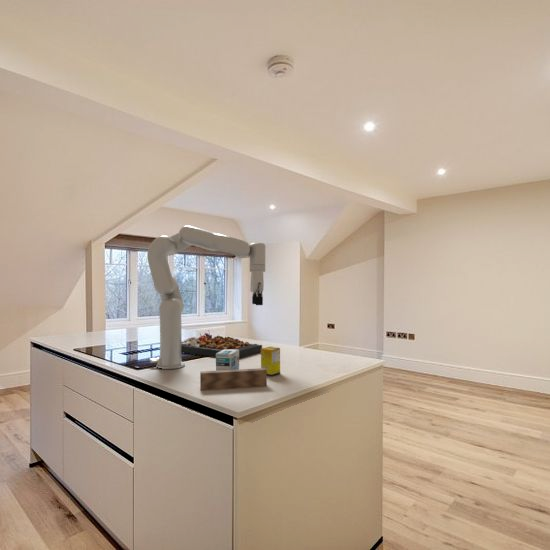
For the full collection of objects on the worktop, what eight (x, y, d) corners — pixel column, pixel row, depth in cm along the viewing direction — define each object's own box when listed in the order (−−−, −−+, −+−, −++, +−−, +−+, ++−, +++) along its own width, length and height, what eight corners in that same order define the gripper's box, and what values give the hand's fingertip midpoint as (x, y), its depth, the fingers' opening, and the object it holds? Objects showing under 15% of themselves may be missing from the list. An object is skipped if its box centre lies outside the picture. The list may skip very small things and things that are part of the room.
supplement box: (269, 371, 158) (269, 346, 158) (280, 373, 154) (280, 347, 154) (260, 374, 153) (260, 348, 154) (271, 376, 150) (271, 349, 150)
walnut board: (200, 390, 131) (200, 373, 131) (200, 388, 134) (200, 371, 134) (266, 386, 136) (266, 369, 136) (265, 384, 139) (265, 368, 139)
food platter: (171, 352, 207) (171, 334, 207) (202, 346, 227) (202, 329, 228) (234, 361, 183) (234, 340, 183) (262, 353, 204) (262, 334, 204)
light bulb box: (231, 381, 142) (231, 353, 142) (215, 380, 143) (215, 353, 144) (239, 375, 153) (239, 349, 153) (224, 374, 154) (224, 348, 154)
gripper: (246, 269, 183) (246, 303, 182) (252, 267, 166) (252, 305, 165) (261, 269, 184) (261, 303, 184) (268, 268, 168) (268, 305, 167)
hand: (257, 304), depth 175 cm, fingers open, 9 cm apart
